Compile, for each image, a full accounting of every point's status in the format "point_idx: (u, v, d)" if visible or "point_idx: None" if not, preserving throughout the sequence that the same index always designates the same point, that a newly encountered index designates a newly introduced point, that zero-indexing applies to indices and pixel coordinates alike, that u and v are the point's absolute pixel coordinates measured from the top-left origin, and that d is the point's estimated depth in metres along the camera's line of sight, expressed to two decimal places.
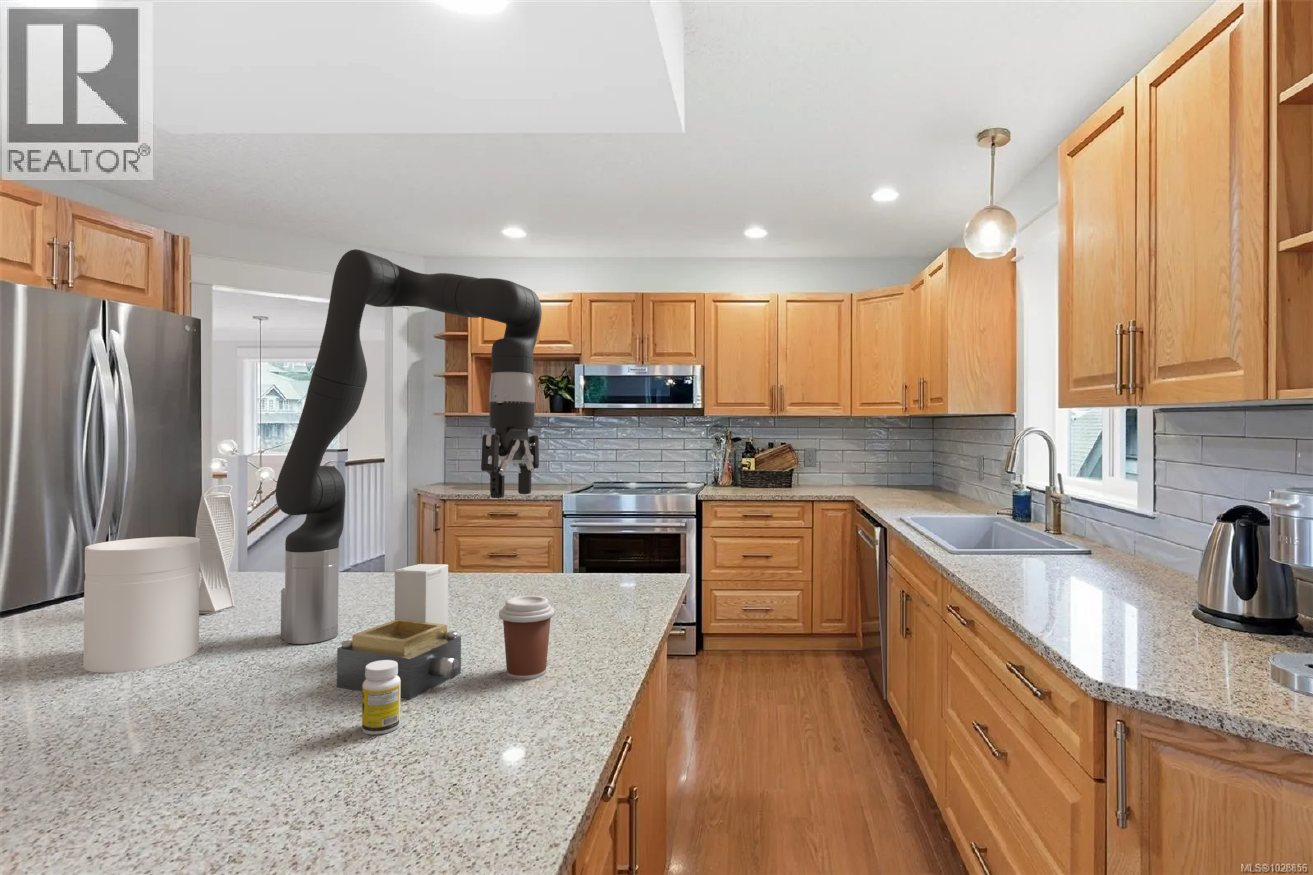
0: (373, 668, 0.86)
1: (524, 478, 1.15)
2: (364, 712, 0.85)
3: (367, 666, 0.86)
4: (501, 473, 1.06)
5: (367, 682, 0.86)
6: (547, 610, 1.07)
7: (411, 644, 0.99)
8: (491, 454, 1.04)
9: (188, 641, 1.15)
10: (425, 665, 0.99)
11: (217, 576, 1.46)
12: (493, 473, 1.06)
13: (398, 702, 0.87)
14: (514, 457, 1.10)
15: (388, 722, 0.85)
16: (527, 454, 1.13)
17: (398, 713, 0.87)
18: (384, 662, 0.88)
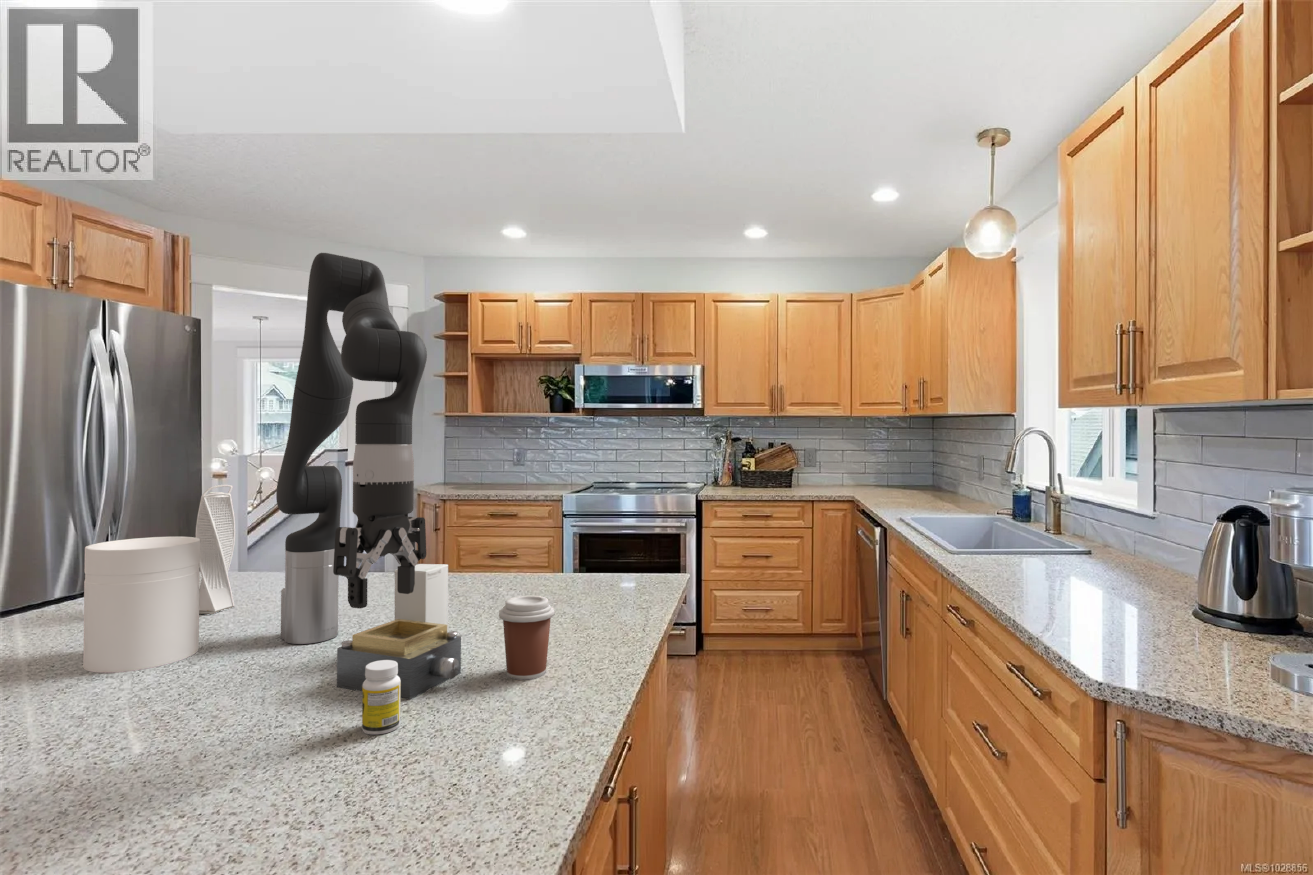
0: (373, 668, 0.86)
1: (404, 573, 0.91)
2: (364, 712, 0.85)
3: (367, 666, 0.86)
4: (361, 577, 0.82)
5: (367, 682, 0.86)
6: (547, 610, 1.07)
7: (411, 644, 0.99)
8: (345, 554, 0.80)
9: (188, 641, 1.15)
10: (425, 665, 0.99)
11: (217, 576, 1.46)
12: (350, 577, 0.82)
13: (398, 702, 0.87)
14: (384, 552, 0.86)
15: (388, 722, 0.85)
16: (405, 545, 0.89)
17: (398, 713, 0.87)
18: (384, 662, 0.88)
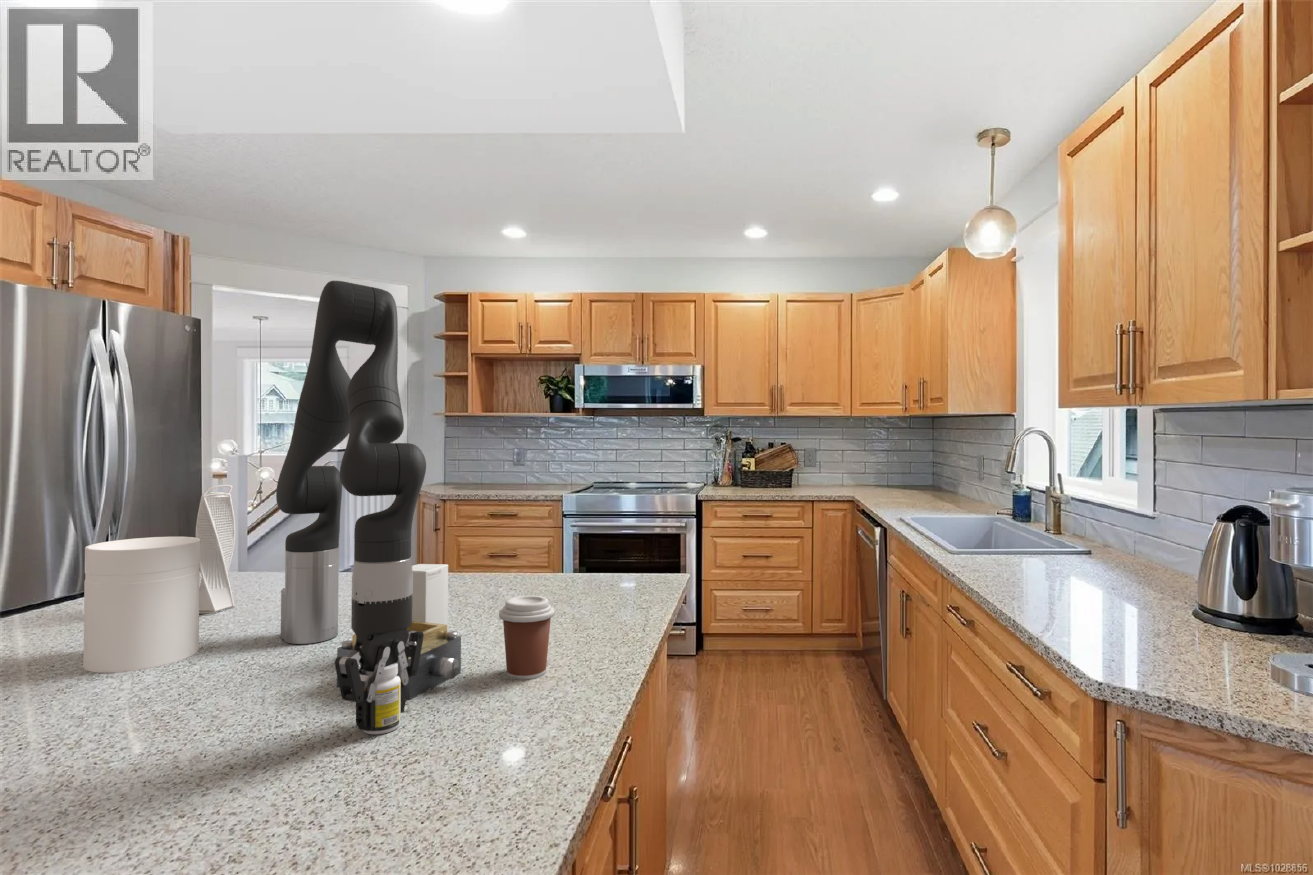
0: None
1: None
2: None
3: None
4: (369, 700, 0.83)
5: None
6: (547, 610, 1.07)
7: None
8: (350, 685, 0.81)
9: (188, 641, 1.15)
10: (425, 665, 0.99)
11: (217, 576, 1.46)
12: None
13: (398, 702, 0.87)
14: (387, 664, 0.87)
15: (388, 722, 0.85)
16: (400, 660, 0.88)
17: (398, 713, 0.87)
18: None
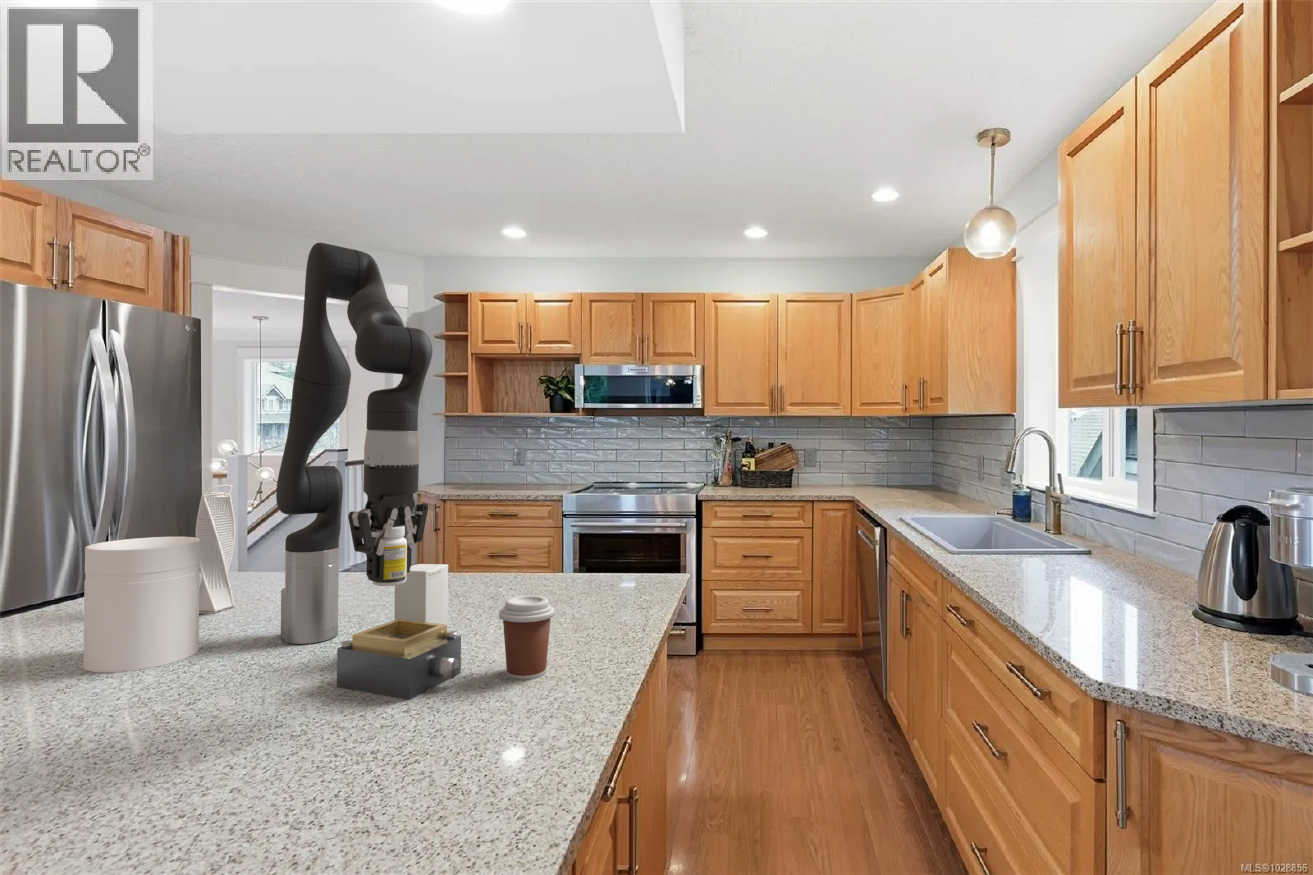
0: None
1: None
2: None
3: None
4: (379, 553, 0.93)
5: (377, 539, 0.95)
6: (547, 610, 1.07)
7: (411, 644, 0.99)
8: (361, 536, 0.91)
9: (188, 641, 1.15)
10: (425, 665, 0.99)
11: (217, 576, 1.46)
12: (369, 554, 0.93)
13: (404, 560, 0.96)
14: (395, 525, 0.96)
15: (395, 576, 0.95)
16: (407, 524, 0.97)
17: (404, 570, 0.96)
18: None
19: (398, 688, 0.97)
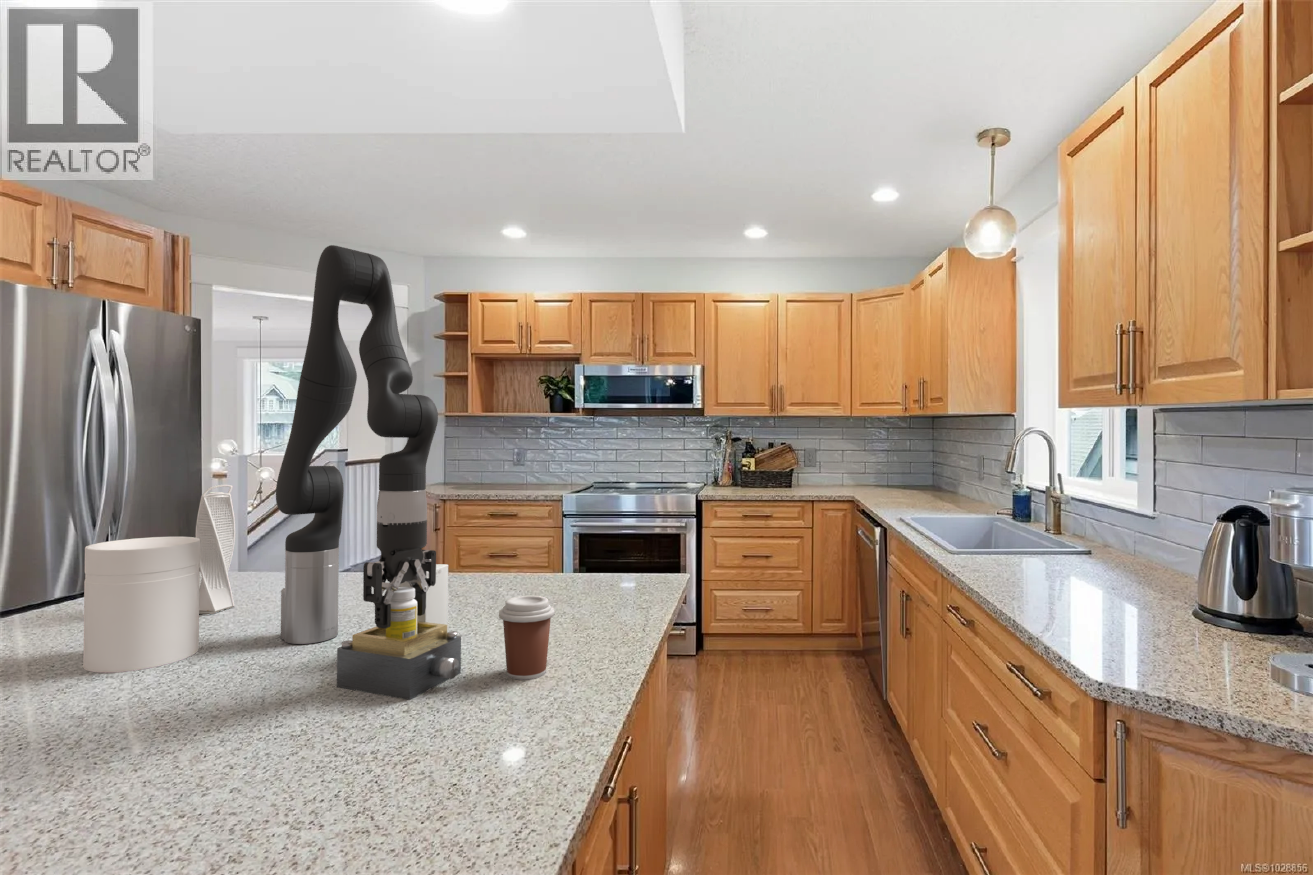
0: (395, 591, 1.03)
1: (417, 598, 1.08)
2: None
3: None
4: (386, 603, 1.00)
5: (390, 602, 1.03)
6: (547, 610, 1.07)
7: (411, 644, 0.99)
8: (373, 585, 0.98)
9: (188, 641, 1.15)
10: (425, 665, 0.99)
11: (217, 576, 1.46)
12: (377, 603, 0.99)
13: (415, 620, 1.05)
14: (404, 579, 1.04)
15: (407, 635, 1.03)
16: (419, 574, 1.06)
17: (415, 629, 1.05)
18: (404, 588, 1.05)
19: (398, 688, 0.97)
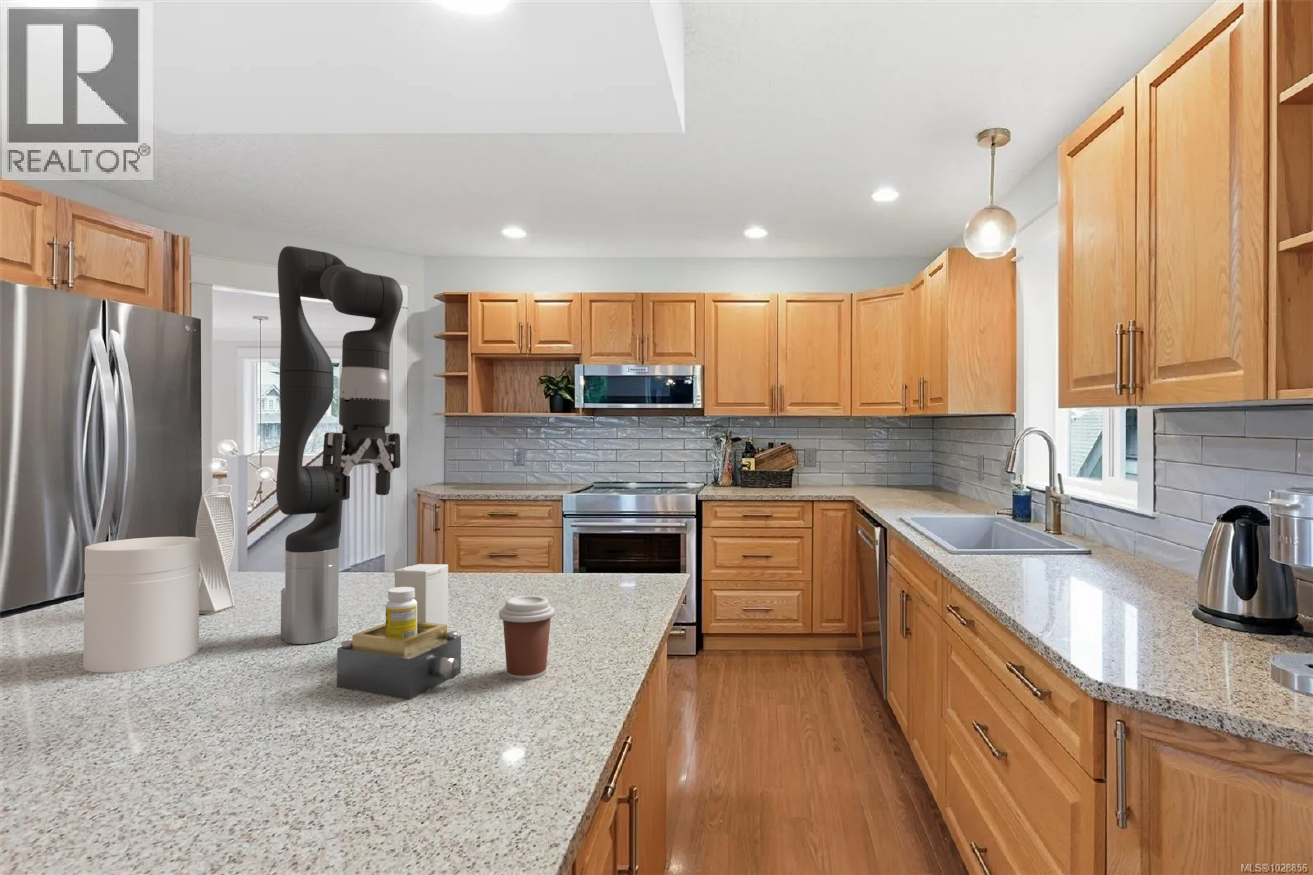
0: (395, 591, 1.03)
1: (381, 478, 1.09)
2: (388, 627, 1.03)
3: (389, 590, 1.04)
4: (345, 474, 1.01)
5: (390, 602, 1.03)
6: (547, 610, 1.07)
7: (411, 644, 0.99)
8: (332, 454, 0.99)
9: (188, 641, 1.15)
10: (425, 665, 0.99)
11: (217, 576, 1.46)
12: (336, 473, 1.00)
13: (415, 620, 1.05)
14: (365, 456, 1.05)
15: (407, 635, 1.03)
16: (382, 453, 1.07)
17: (415, 629, 1.05)
18: (404, 588, 1.05)
19: (398, 688, 0.97)
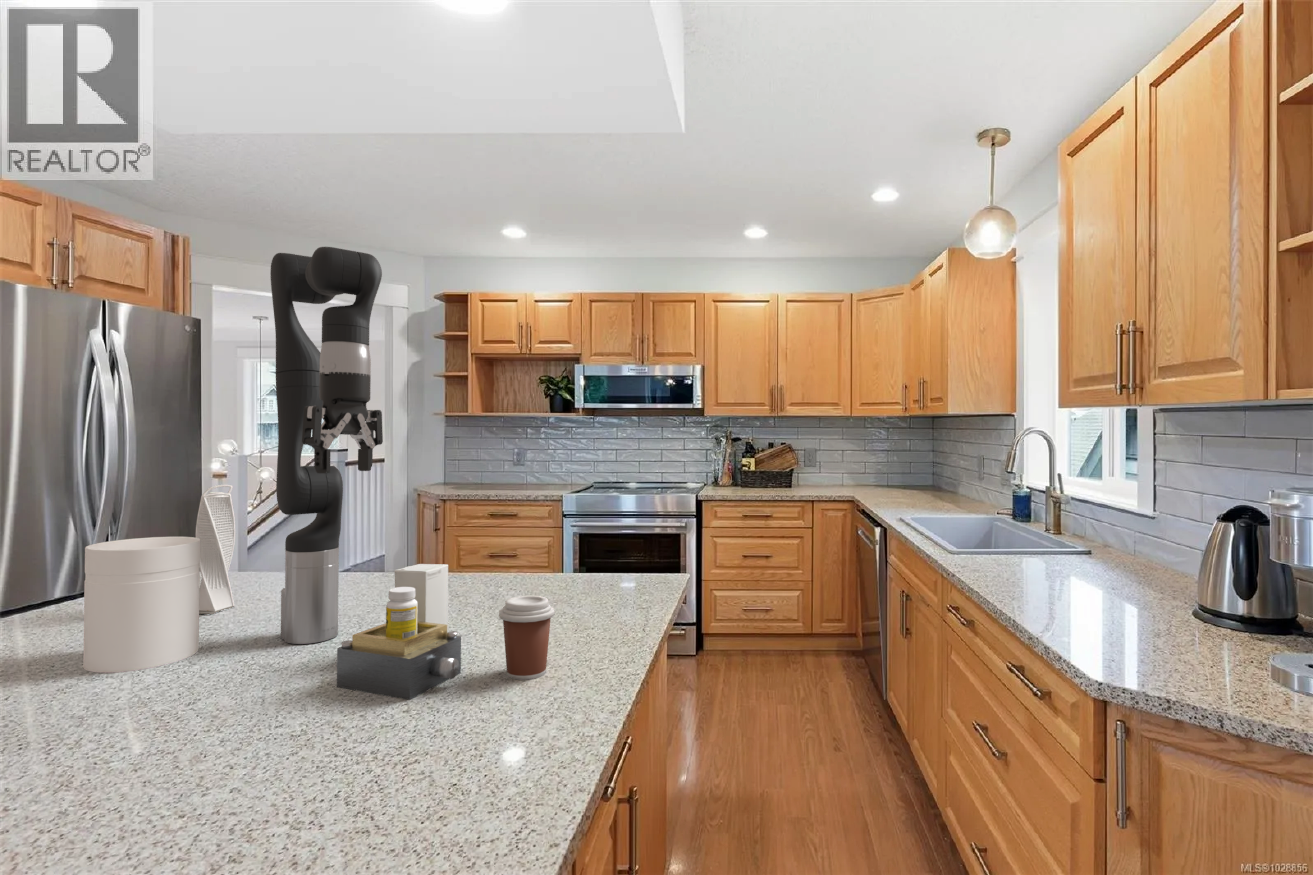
0: (395, 591, 1.03)
1: (363, 454, 1.10)
2: (388, 627, 1.03)
3: (390, 590, 1.04)
4: (325, 447, 1.01)
5: (390, 602, 1.03)
6: (547, 610, 1.07)
7: (411, 644, 0.99)
8: (311, 426, 1.00)
9: (188, 641, 1.15)
10: (425, 665, 0.99)
11: (217, 576, 1.46)
12: (316, 447, 1.01)
13: (415, 620, 1.05)
14: (345, 431, 1.05)
15: (407, 636, 1.03)
16: (363, 429, 1.08)
17: (415, 629, 1.05)
18: (404, 588, 1.05)
19: (398, 688, 0.97)
